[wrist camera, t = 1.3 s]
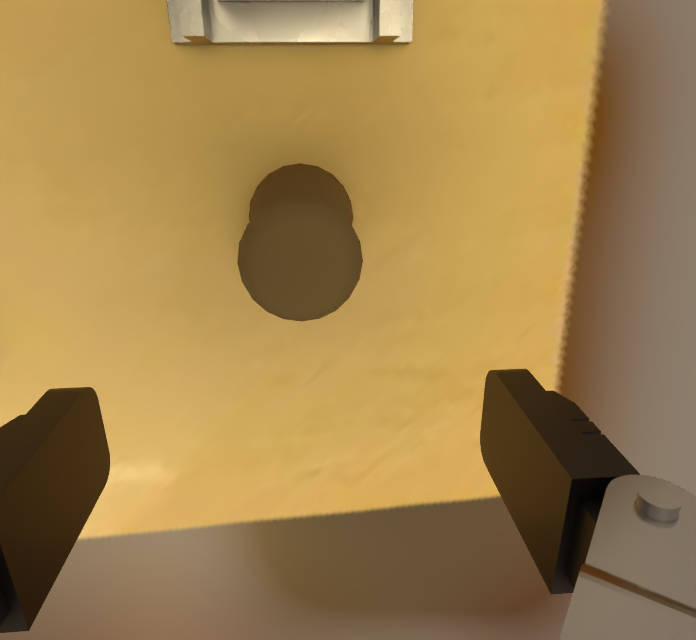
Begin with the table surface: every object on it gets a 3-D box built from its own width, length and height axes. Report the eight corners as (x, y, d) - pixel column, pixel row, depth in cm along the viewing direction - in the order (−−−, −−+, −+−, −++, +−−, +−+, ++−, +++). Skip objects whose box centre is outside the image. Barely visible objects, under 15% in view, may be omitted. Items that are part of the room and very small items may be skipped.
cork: (312, 141, 29) (316, 159, 19) (372, 228, 31) (406, 286, 21) (227, 205, 30) (188, 256, 20) (291, 286, 32) (286, 368, 22)
